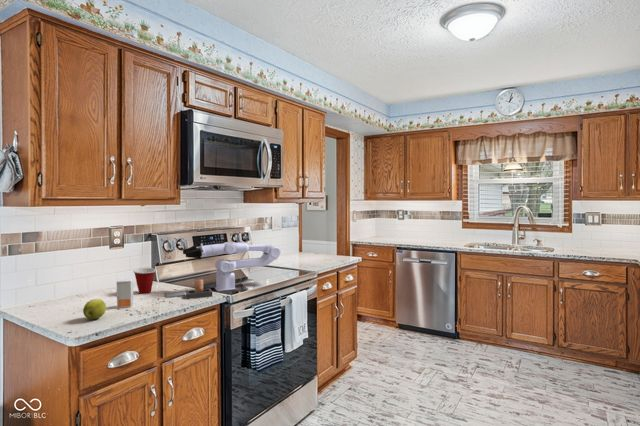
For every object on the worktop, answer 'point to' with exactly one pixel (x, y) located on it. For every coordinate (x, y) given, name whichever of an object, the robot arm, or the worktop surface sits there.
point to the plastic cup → (144, 279)
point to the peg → (198, 285)
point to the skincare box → (125, 293)
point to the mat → (175, 294)
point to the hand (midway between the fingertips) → (184, 253)
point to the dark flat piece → (199, 294)
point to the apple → (94, 309)
